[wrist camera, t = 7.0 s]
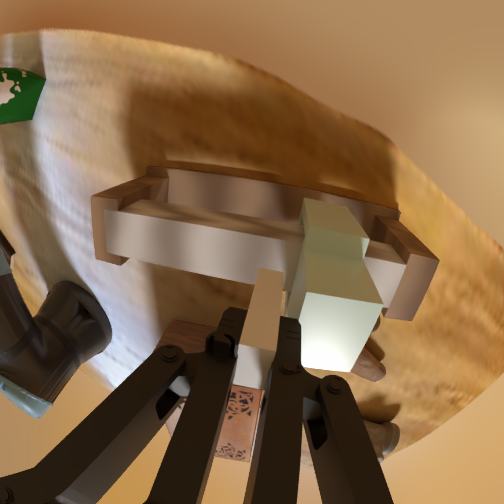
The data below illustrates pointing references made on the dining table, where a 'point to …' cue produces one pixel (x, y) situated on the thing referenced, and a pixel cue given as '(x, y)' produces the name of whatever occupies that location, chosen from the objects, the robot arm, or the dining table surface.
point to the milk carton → (18, 94)
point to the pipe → (369, 363)
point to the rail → (265, 209)
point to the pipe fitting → (383, 437)
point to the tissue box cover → (240, 403)
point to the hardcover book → (7, 251)
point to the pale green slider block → (332, 288)
